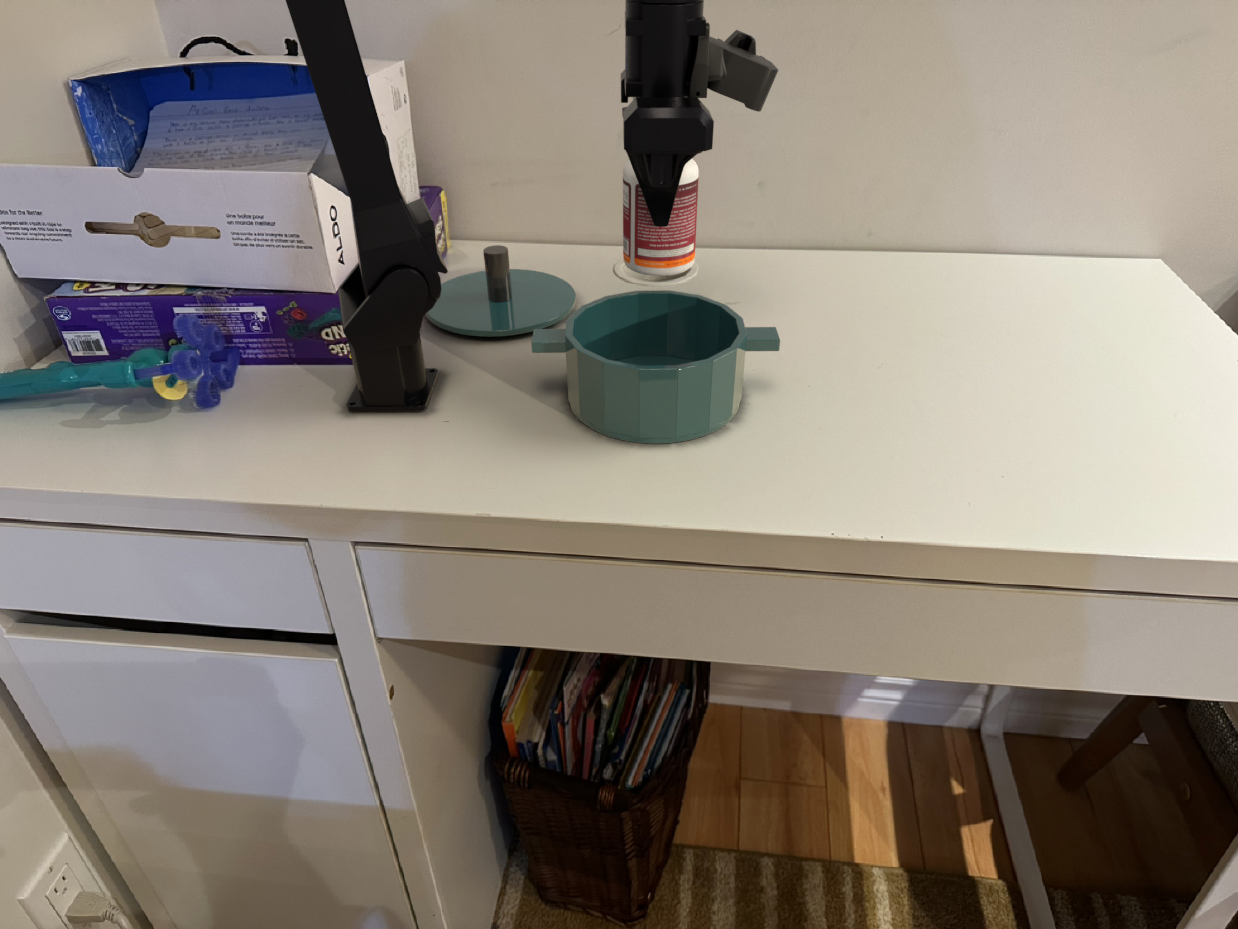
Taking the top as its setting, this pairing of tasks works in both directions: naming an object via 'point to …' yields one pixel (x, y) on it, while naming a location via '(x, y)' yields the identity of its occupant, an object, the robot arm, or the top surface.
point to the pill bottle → (660, 245)
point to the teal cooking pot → (655, 364)
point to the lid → (501, 299)
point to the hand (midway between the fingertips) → (659, 212)
